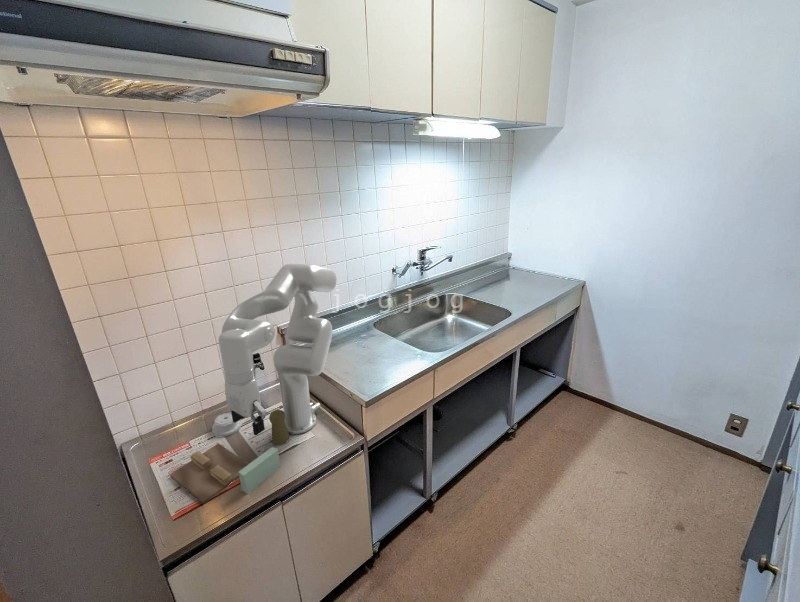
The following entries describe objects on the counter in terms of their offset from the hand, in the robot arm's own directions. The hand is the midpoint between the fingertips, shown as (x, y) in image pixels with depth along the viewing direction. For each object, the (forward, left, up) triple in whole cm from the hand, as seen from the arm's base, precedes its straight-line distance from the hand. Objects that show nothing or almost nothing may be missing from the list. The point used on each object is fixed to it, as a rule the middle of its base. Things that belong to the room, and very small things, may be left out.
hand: (248, 426), depth 106 cm
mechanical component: (-9, -29, -20) cm, 36 cm away
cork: (-15, -8, -19) cm, 26 cm away
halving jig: (+6, -14, -19) cm, 24 cm away
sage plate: (-1, +1, -19) cm, 19 cm away
